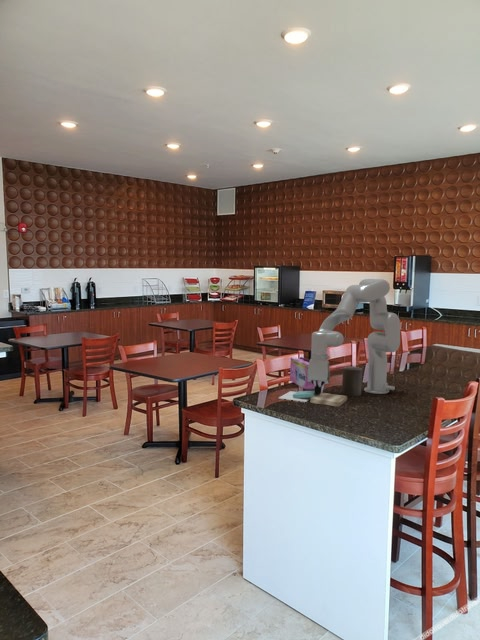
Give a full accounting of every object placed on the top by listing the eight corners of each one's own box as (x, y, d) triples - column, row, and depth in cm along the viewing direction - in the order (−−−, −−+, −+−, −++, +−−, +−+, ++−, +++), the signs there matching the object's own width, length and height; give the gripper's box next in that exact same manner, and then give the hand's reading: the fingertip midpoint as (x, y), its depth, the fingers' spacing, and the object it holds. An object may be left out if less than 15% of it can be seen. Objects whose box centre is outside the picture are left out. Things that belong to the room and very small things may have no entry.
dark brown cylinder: (347, 397, 243) (348, 367, 242) (338, 392, 253) (339, 364, 251) (364, 396, 246) (366, 367, 245) (355, 391, 255) (356, 363, 254)
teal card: (317, 393, 240) (317, 390, 240) (312, 397, 233) (312, 394, 233) (298, 394, 245) (298, 391, 245) (293, 397, 238) (292, 394, 238)
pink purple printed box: (288, 380, 281) (289, 357, 280) (301, 379, 284) (301, 356, 282) (305, 389, 259) (306, 364, 257) (319, 388, 261) (319, 363, 260)
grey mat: (316, 395, 246) (316, 394, 246) (305, 402, 231) (305, 401, 231) (290, 392, 252) (290, 391, 252) (278, 398, 238) (278, 397, 238)
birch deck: (346, 399, 237) (347, 395, 237) (339, 406, 225) (339, 402, 225) (319, 396, 244) (319, 392, 244) (310, 402, 231) (310, 398, 231)
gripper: (336, 357, 235) (334, 394, 237) (306, 354, 242) (305, 390, 243) (331, 359, 228) (330, 397, 230) (301, 356, 235) (300, 394, 237)
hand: (317, 394), depth 237 cm, fingers closed
